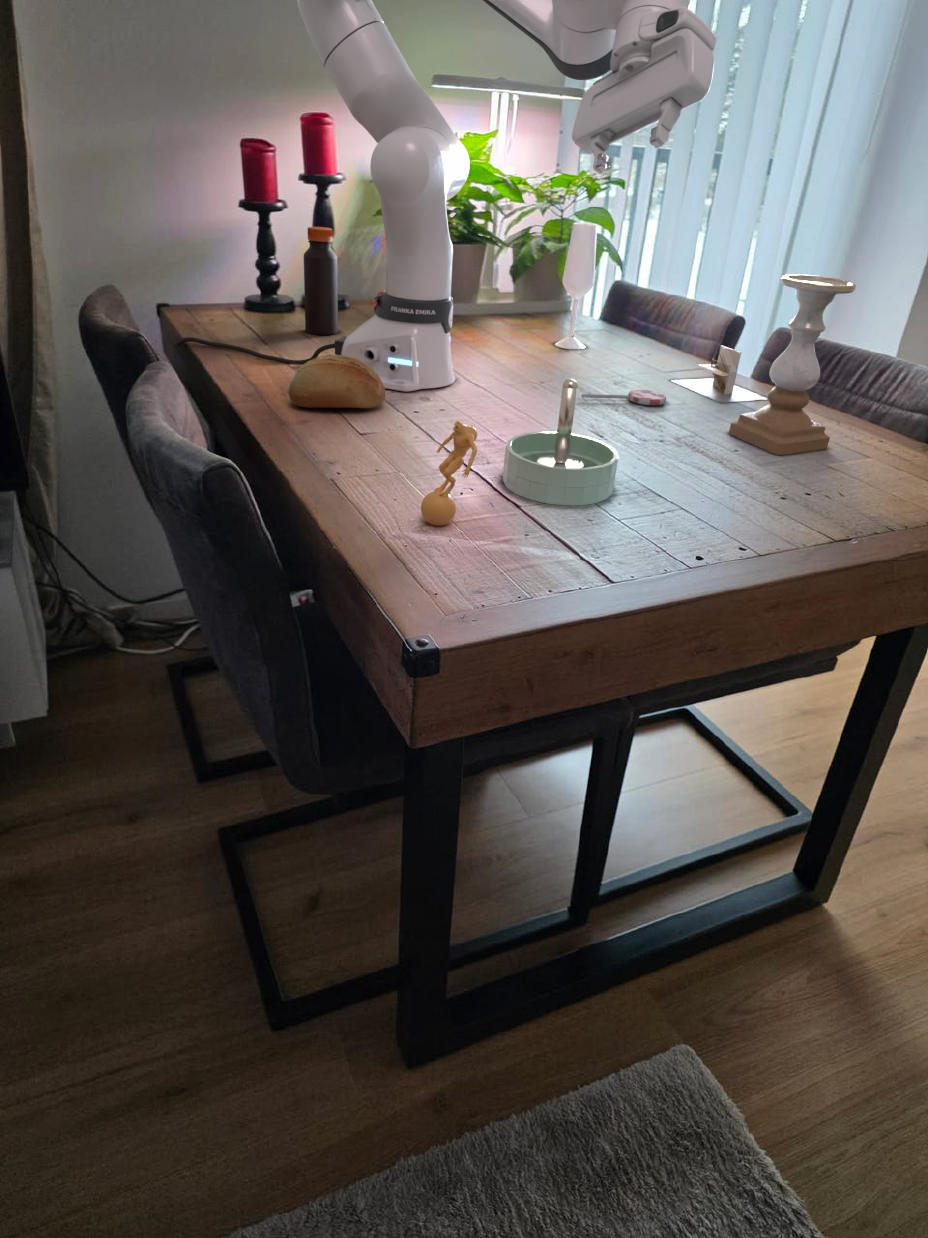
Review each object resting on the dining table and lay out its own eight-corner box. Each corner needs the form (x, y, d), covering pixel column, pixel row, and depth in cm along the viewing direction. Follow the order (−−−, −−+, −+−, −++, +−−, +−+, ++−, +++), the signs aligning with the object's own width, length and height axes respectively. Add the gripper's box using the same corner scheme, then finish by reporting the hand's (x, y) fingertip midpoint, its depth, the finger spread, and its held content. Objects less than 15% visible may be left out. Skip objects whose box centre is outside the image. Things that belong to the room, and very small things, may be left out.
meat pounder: (532, 489, 108) (544, 382, 102) (536, 473, 114) (548, 370, 107) (579, 495, 108) (595, 387, 101) (581, 478, 113) (596, 375, 106)
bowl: (496, 500, 105) (500, 461, 103) (508, 462, 118) (512, 426, 115) (611, 513, 104) (618, 475, 102) (612, 473, 116) (617, 438, 114)
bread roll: (386, 418, 131) (387, 365, 127) (287, 415, 129) (285, 362, 125) (383, 400, 139) (384, 350, 135) (290, 397, 137) (288, 346, 133)
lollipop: (577, 387, 150) (658, 389, 152) (576, 393, 150) (657, 395, 153) (587, 398, 144) (671, 400, 146) (586, 404, 145) (670, 406, 147)
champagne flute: (590, 345, 185) (607, 224, 173) (577, 350, 180) (593, 226, 168) (563, 340, 188) (577, 221, 176) (549, 345, 183) (563, 222, 171)
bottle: (335, 336, 177) (334, 231, 167) (302, 334, 177) (299, 228, 167) (340, 329, 183) (339, 227, 173) (308, 327, 183) (305, 225, 172)
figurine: (409, 511, 100) (412, 411, 94) (456, 507, 103) (463, 408, 97) (434, 541, 94) (439, 435, 88) (484, 535, 96) (493, 431, 90)
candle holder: (777, 455, 128) (821, 287, 116) (726, 433, 136) (763, 273, 124) (828, 448, 132) (876, 286, 121) (776, 427, 141) (816, 273, 129)
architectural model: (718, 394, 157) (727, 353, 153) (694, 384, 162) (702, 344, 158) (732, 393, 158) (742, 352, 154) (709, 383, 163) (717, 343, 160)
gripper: (571, 74, 115) (554, 172, 115) (697, -1, 99) (677, 113, 99) (602, 99, 119) (585, 194, 119) (728, 31, 103) (709, 141, 103)
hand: (628, 157), depth 108 cm, fingers open, 8 cm apart
